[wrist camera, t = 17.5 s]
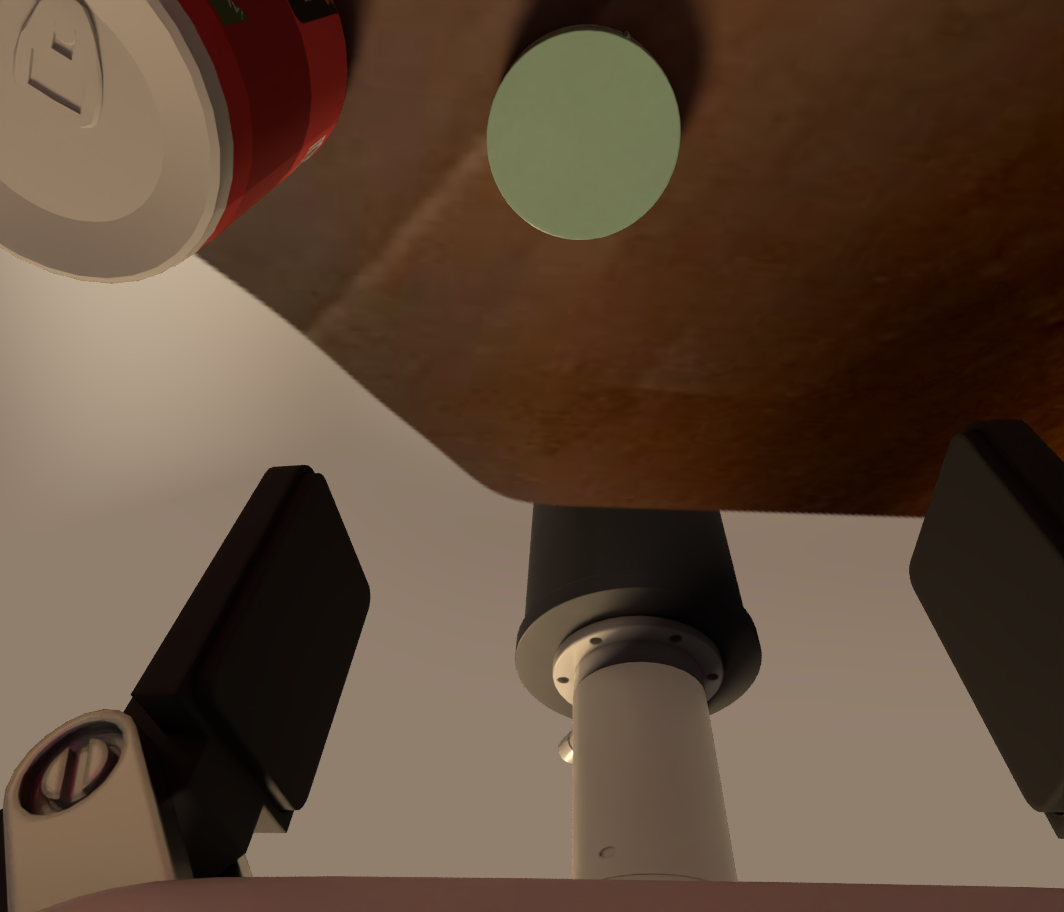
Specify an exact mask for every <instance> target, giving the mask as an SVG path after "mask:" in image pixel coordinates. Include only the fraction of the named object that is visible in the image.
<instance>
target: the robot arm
mask: <svg viewBox="0 0 1064 912" xmlns="http://www.w3.org/2000/svg"><path fill="white" fill-rule="evenodd" d="M909 574H910V580H911V584H912V586H913V589H914V591H915V593H916V594H917V596H918V598H919V600H920V602H921V603H922V606H923V608H924V609H925V611H926V613H927V615H928V617H929V619H930V621H931V623H932V625H933V626H934V628H935V630H936V632H937V634H938V636H939V638H940V640H941V642H942V643H943V645H944V647H945V649H946V651H947V653H948V655H949V657H950V659H951V660H952V662H953V664H954V666H955V668H956V670H957V672H958V674H959V676H960V677H961V679H962V681H963V683H964V685H965V687H966V689H967V691H968V692H969V694H970V696H971V698H972V700H973V702H974V704H975V706H976V708H977V710H978V711H979V713H980V715H981V717H982V719H983V721H984V723H985V725H986V727H987V728H988V730H989V732H990V734H991V736H992V738H993V740H994V742H995V744H996V745H997V747H998V749H999V751H1000V753H1001V755H1002V757H1003V759H1004V761H1005V762H1006V764H1007V766H1008V768H1009V770H1010V772H1011V774H1012V775H1013V778H1014V779H1015V781H1016V783H1017V785H1018V787H1019V789H1020V791H1021V792H1022V795H1023V796H1024V798H1025V799H1026V801H1027V803H1028V804H1029V805H1030V806H1031V807H1032V808H1033V809H1035V810H1036V811H1038V812H1044V813H1045V815H1046V817H1047V818H1048V820H1049V822H1050V824H1051V826H1052V828H1053V829H1054V831H1055V833H1056V835H1057V836H1058V838H1061V839H1064V462H1063V461H1062V460H1061V459H1060V458H1059V457H1058V456H1057V455H1056V454H1055V453H1054V452H1053V451H1052V450H1051V449H1050V448H1049V447H1048V446H1047V445H1046V443H1045V442H1044V441H1043V440H1042V439H1041V438H1040V437H1039V436H1038V435H1037V434H1036V433H1035V432H1034V431H1033V430H1032V429H1031V428H1030V427H1029V426H1028V425H1027V424H1026V423H1025V422H1023V421H1022V420H1018V419H1007V420H991V421H976V422H972V423H969V424H968V425H967V426H966V427H965V429H964V431H963V433H957V434H955V435H954V436H953V437H952V438H951V441H950V443H949V446H948V449H947V452H946V455H945V458H944V461H943V464H942V467H941V470H940V473H939V476H938V479H937V482H936V485H935V488H934V492H933V495H932V498H931V501H930V504H929V507H928V510H927V513H926V516H925V519H924V522H923V525H922V528H921V531H920V534H919V537H918V540H917V543H916V547H915V550H914V552H913V555H912V558H911V561H910V566H909ZM369 604H370V589H369V585H368V582H367V580H366V578H365V575H364V572H363V570H362V567H361V565H360V563H359V560H358V558H357V555H356V553H355V550H354V548H353V545H352V543H351V541H350V538H349V536H348V533H347V531H346V528H345V526H344V523H343V521H342V519H341V516H340V514H339V511H338V509H337V507H336V504H335V501H334V499H333V497H332V494H331V492H330V490H329V487H328V484H327V482H326V480H325V478H324V476H323V475H322V474H320V473H314V471H313V469H312V468H311V467H309V466H307V465H297V466H281V467H272V468H269V469H268V471H267V472H266V473H265V474H264V476H263V478H262V479H261V481H260V483H259V484H258V486H257V488H256V489H255V491H254V493H253V494H252V496H251V498H250V499H249V501H248V502H247V504H246V506H245V507H244V509H243V511H242V512H241V514H240V515H239V517H238V519H237V520H236V522H235V524H234V525H233V527H232V529H231V530H230V532H229V534H228V535H227V537H226V539H225V540H224V542H223V543H222V545H221V547H220V549H219V550H218V552H217V554H216V555H215V557H214V558H213V560H212V562H211V563H210V565H209V567H208V568H207V570H206V571H205V573H204V575H203V576H202V578H201V580H200V582H199V583H198V585H197V586H196V588H195V590H194V591H193V593H192V595H191V596H190V598H189V600H188V601H187V603H186V605H185V606H184V608H183V609H182V611H181V613H180V614H179V616H178V618H177V619H176V621H175V623H174V624H173V626H172V628H171V629H170V631H169V633H168V634H167V636H166V637H165V639H164V641H163V642H162V644H161V646H160V647H159V649H158V651H157V652H156V654H155V655H154V657H153V659H152V661H151V662H150V664H149V666H148V667H147V669H146V670H145V672H144V674H143V675H142V677H141V679H140V680H139V682H138V683H137V685H136V687H135V688H134V690H133V692H132V693H131V696H132V699H131V701H130V702H129V704H128V705H127V707H126V709H125V710H124V712H121V711H119V710H108V709H103V710H98V711H94V712H89V713H85V714H83V715H81V716H78V717H76V718H74V719H72V720H69V721H67V722H65V723H64V724H62V725H61V726H60V727H58V728H56V729H55V730H53V731H52V732H50V733H49V734H47V735H46V736H45V737H44V738H43V739H42V740H41V741H40V742H39V743H38V744H36V745H35V746H34V747H33V748H32V749H31V750H30V751H29V752H28V753H27V755H26V756H25V757H24V759H23V760H22V761H21V762H20V764H19V765H18V766H17V768H16V769H15V770H14V773H13V774H12V776H11V779H10V781H9V783H8V785H7V787H6V790H5V796H4V802H3V809H1V810H0V912H1064V889H1061V888H1033V887H990V886H989V887H987V886H941V885H939V886H938V885H890V884H841V883H791V882H788V883H787V882H738V881H737V876H736V870H735V864H734V858H733V852H732V846H731V840H730V834H729V829H728V823H727V817H726V811H725V805H724V799H723V793H722V788H721V781H720V775H719V770H718V764H717V758H716V752H715V746H714V740H713V734H712V728H711V722H710V717H709V711H708V705H707V701H708V700H710V698H711V697H712V696H713V695H714V694H715V693H716V692H717V691H718V689H719V687H720V685H721V683H722V680H723V675H724V671H723V665H722V659H721V656H720V653H719V650H718V648H717V647H716V645H715V644H714V643H713V641H712V640H711V639H710V638H708V637H707V636H706V635H705V634H704V633H702V632H701V631H699V630H697V629H695V628H693V627H692V626H690V625H687V624H684V623H681V622H679V621H676V620H672V619H667V618H662V617H655V616H644V615H640V616H622V617H615V618H609V619H605V620H602V621H598V622H595V623H592V624H590V625H588V626H586V627H583V628H581V629H579V630H578V631H576V632H575V633H573V634H572V635H570V636H569V637H568V638H567V639H566V640H565V641H564V642H563V643H562V644H561V645H560V646H559V648H558V650H557V651H556V653H555V656H554V660H553V680H554V684H555V687H556V688H557V690H558V692H559V693H560V695H561V696H562V697H564V698H565V699H566V700H567V701H568V702H569V703H570V704H572V705H573V726H572V731H570V732H569V733H568V734H567V735H566V736H565V737H564V738H563V740H562V741H561V742H560V744H559V745H558V751H559V754H560V756H561V757H562V758H563V759H564V760H565V761H566V762H569V763H573V794H572V796H573V797H572V800H573V801H572V802H573V803H572V808H573V809H572V879H533V878H529V879H528V878H439V877H438V878H437V877H344V876H343V877H342V876H326V877H325V876H323V877H253V876H252V873H251V870H250V867H249V864H248V861H247V859H246V856H245V853H246V851H247V848H248V846H249V843H250V840H251V838H252V835H253V833H287V830H288V827H289V824H290V821H291V818H292V815H293V812H294V810H300V809H301V808H302V807H303V806H304V804H305V802H306V800H307V798H308V795H309V792H310V789H311V786H312V783H313V780H314V777H315V774H316V771H317V768H318V764H319V761H320V758H321V755H322V752H323V749H324V745H325V743H326V739H327V737H328V733H329V730H330V727H331V724H332V721H333V718H334V715H335V712H336V709H337V705H338V702H339V699H340V696H341V693H342V690H343V687H344V684H345V681H346V677H347V674H348V671H349V668H350V665H351V662H352V659H353V656H354V653H355V649H356V646H357V643H358V640H359V637H360V634H361V631H362V628H363V625H364V622H365V619H366V615H367V612H368V609H369Z"/></svg>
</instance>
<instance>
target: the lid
mask: <svg viewBox="0 0 1064 912" xmlns="http://www.w3.org/2000/svg"><path fill="white" fill-rule="evenodd" d="M680 139H681V121H680V113H679V108H678V103H677V100H676V97H675V93H674V90H673V88H672V86H671V84H670V82H669V80H668V78H667V76H666V75H665V73H664V72H663V70H662V68H661V67H660V65H659V64H658V62H657V61H656V59H655V58H654V57H653V56H652V54H651V53H650V52H649V51H648V50H647V49H646V48H645V47H644V46H643V45H641V44H640V43H639V42H638V41H637V40H635V39H634V38H632V37H630V34H629V32H628V31H625V33H623V32H621V31H619V30H616V29H614V28H610V27H606V26H602V25H594V24H579V25H572V26H567V27H563V28H560V29H557V30H555V31H552V32H549V33H548V34H546V35H544V36H542V37H541V38H539V39H537V40H536V41H535V42H533V43H532V44H531V45H529V46H528V47H527V48H526V49H525V50H524V51H523V52H522V53H521V54H520V55H519V56H518V57H517V58H516V60H515V61H514V62H513V64H512V65H511V66H510V68H509V69H508V71H507V73H506V74H505V76H504V78H503V80H502V82H501V83H500V85H499V87H498V90H497V92H496V94H495V97H494V99H493V102H492V106H491V109H490V113H489V118H488V125H487V152H488V159H489V164H490V168H491V171H492V174H493V177H494V180H495V182H496V184H497V186H498V188H499V190H500V192H501V194H502V195H503V197H504V198H505V200H506V201H507V203H508V204H509V205H510V206H511V208H512V209H513V210H514V211H515V212H516V213H517V214H518V215H519V216H520V217H521V218H522V219H523V220H525V221H526V222H528V223H529V224H530V225H532V226H533V227H535V228H537V229H539V230H541V231H543V232H545V233H548V234H550V235H553V236H556V237H561V238H565V239H574V240H586V239H595V238H601V237H604V236H607V235H611V234H613V233H616V232H618V231H620V230H622V229H624V228H626V227H628V226H629V225H631V224H633V223H634V222H635V221H637V220H638V219H639V218H641V217H642V216H643V215H644V214H645V213H646V212H647V211H648V210H649V209H650V208H651V207H652V206H653V205H654V204H655V202H656V201H657V200H658V199H659V197H660V196H661V194H662V193H663V191H664V190H665V188H666V186H667V185H668V182H669V180H670V178H671V176H672V174H673V171H674V168H675V165H676V162H677V159H678V154H679V149H680Z"/></svg>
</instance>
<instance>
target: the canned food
mask: <svg viewBox="0 0 1064 912" xmlns="http://www.w3.org/2000/svg"><path fill="white" fill-rule="evenodd" d="M347 76H348V71H347V52H346V42H345V37H344V33H343V28H342V24H341V19H340V17H339V14H338V11H337V9H336V6H335V3H334V1H333V0H0V247H1V248H2V249H4V250H6V251H7V252H9V253H11V254H12V255H14V256H16V257H17V258H19V259H21V260H24V261H26V262H28V263H30V264H33V265H35V266H37V267H40V268H42V269H44V270H47V271H49V272H52V273H55V274H59V275H63V276H66V277H70V278H74V279H78V280H81V281H90V282H100V283H111V284H112V283H122V282H131V281H139V280H142V279H145V278H148V277H151V276H154V275H157V274H160V273H162V272H164V271H166V270H167V269H169V268H171V267H174V266H176V265H178V264H179V263H180V262H182V261H184V260H185V259H186V258H188V257H190V256H191V255H193V254H194V253H196V252H197V251H198V250H199V249H201V248H202V247H203V246H204V245H205V244H207V243H208V242H209V241H211V240H212V239H214V238H215V237H217V236H218V235H219V234H220V233H221V232H222V231H224V230H225V229H226V228H227V227H228V226H229V225H231V224H232V223H233V222H234V221H235V220H237V219H238V218H239V217H240V216H241V215H242V214H244V213H245V212H246V211H247V210H248V209H249V208H251V207H252V206H253V205H254V204H255V203H257V202H258V201H259V200H260V199H261V198H262V197H264V196H265V195H266V194H267V193H268V192H269V191H271V190H272V189H273V188H274V187H275V186H277V185H278V184H279V183H280V182H281V181H282V180H284V179H285V178H286V177H287V176H288V175H289V174H291V173H292V172H293V171H294V170H295V169H297V168H298V167H299V166H300V165H301V164H302V163H304V162H305V161H306V160H307V159H308V158H309V157H311V156H312V155H313V154H314V153H315V152H316V151H317V150H318V149H319V148H320V147H321V145H322V144H323V143H324V142H325V141H326V140H327V139H328V137H329V135H330V134H331V132H332V130H333V128H334V126H335V125H336V123H337V121H338V119H339V115H340V112H341V109H342V106H343V103H344V100H345V93H346V84H347Z"/></svg>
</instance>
